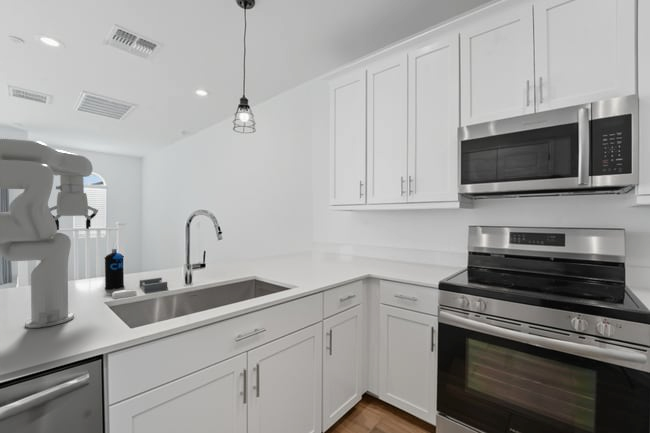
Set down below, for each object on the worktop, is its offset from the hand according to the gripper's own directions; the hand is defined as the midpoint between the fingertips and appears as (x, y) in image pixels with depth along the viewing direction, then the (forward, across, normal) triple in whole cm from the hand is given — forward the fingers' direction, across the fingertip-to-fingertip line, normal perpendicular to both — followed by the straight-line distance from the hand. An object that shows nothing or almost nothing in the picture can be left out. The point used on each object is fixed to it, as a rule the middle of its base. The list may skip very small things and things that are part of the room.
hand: (73, 229), depth 125 cm
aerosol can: (+32, +16, +18) cm, 40 cm away
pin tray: (+32, +31, +3) cm, 44 cm away
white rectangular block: (+32, +18, -3) cm, 37 cm away
